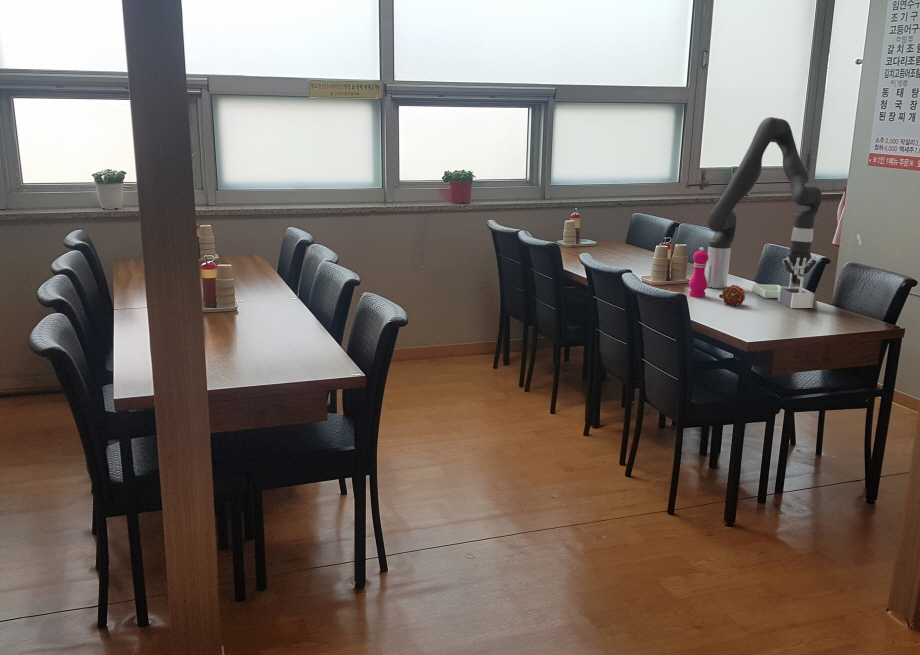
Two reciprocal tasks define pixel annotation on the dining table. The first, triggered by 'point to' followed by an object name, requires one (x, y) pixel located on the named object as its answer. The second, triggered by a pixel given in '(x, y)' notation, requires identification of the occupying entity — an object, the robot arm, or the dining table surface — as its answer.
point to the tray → (767, 290)
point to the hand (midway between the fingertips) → (796, 283)
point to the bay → (800, 298)
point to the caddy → (790, 292)
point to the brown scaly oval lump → (733, 295)
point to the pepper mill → (699, 274)
